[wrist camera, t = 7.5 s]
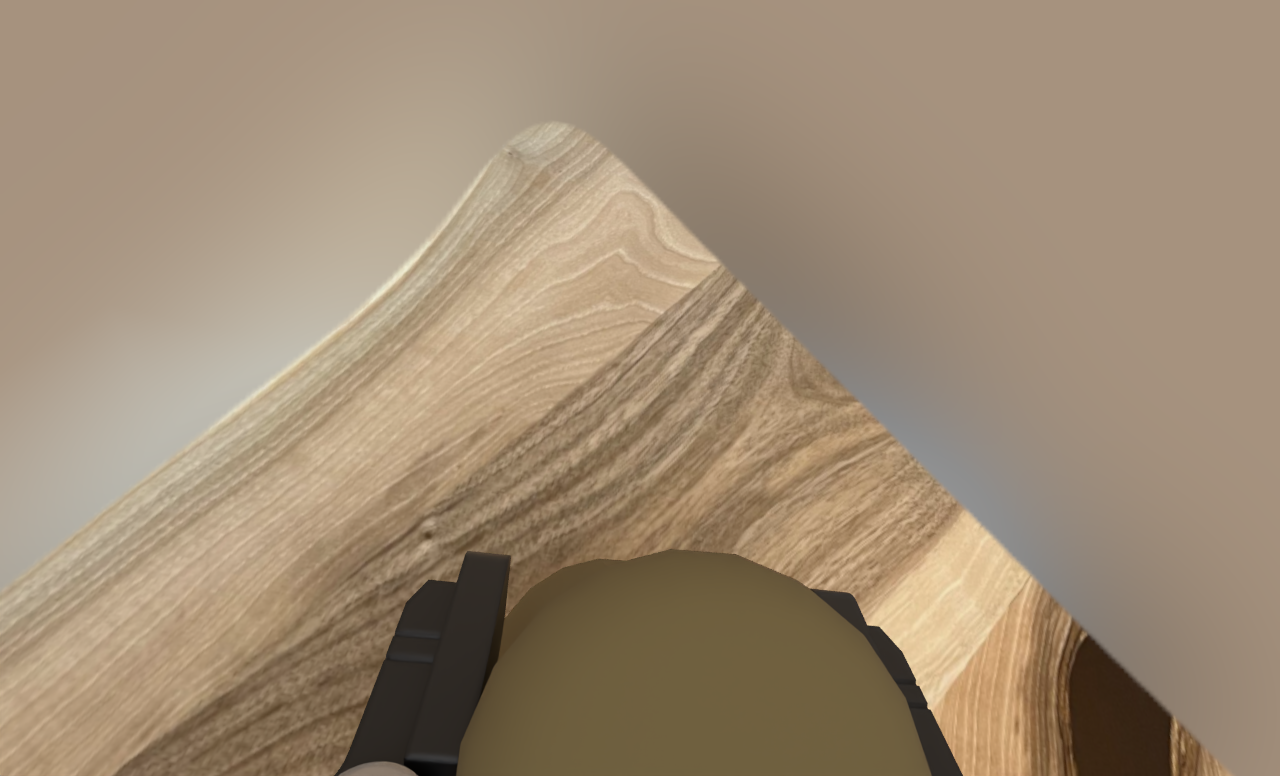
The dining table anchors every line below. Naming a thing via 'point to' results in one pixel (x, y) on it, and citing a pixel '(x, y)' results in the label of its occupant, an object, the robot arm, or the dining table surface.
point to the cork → (686, 679)
